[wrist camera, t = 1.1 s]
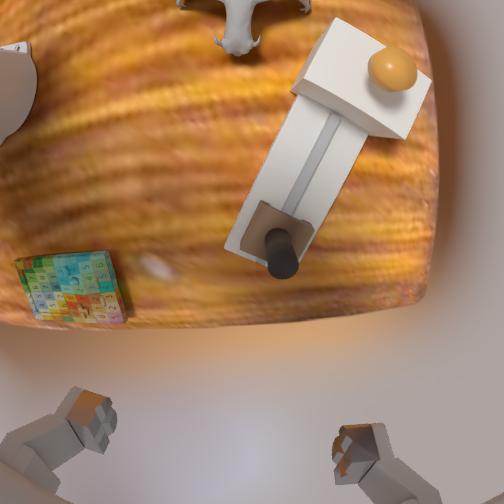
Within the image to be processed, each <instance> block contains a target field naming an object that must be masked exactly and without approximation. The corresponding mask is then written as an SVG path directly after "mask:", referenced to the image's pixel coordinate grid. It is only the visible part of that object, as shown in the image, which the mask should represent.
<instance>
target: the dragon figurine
mask: <svg viewBox="0 0 504 504" xmlns="http://www.w3.org/2000/svg"><path fill="white" fill-rule="evenodd" d="M181 1H182V0H177V2H176V4H177V7H179V9H181V8H182V7H181V6H183V7H186V5H183V4H182V3H181ZM218 1H221V2H222V3H224V5H225V8H226V16H227V18H226V28H225V33H224V38H223V39H221V41H218V40H217V39H216V33H215V37H214V40H215V43H216V44H217V45H219V46H221V47H222V48H223V49H224V50H225V52H226V53H229V54H232V53H233V55H234V56H241V55H242V54H247V53H249V51H250V49H252V48H253V47H256V46H258V44H259V42H260V36H259V39H258V40H257V41H256V42H254V40H253V36H252V34H251V17H252V14H253V10H254V7H255V5H256V4H258V3H260V2H264V1H268V0H218ZM299 1H300V2H301V3H302V4H303V5H305V7H304V8H303V9H300V10H299V11H304V10H305V13H307V11H309V9H310V8H311V7H310V5H309V0H299Z"/></svg>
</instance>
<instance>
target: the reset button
mask: <svg viewBox="0 0 504 504" xmlns="http://www.w3.org/2000/svg"><path fill="white" fill-rule="evenodd" d="M368 73H369V76H370V78H371V80H372V81H373V83H374V84H375V85H376V86H377V87H378V88H380V89H382V90H384V91H386V92H398V91H403V90H408V89H410V88H411V87H413V86H414V84H415V83H416V80H417V67H416V64H415V62H414V60H413V59H412V57H411V56H410V55H409V54H408V53H407V52H405V51H404V50H402V49H400V48H398V47H386V48H384V49H382V50H380V51H378V52H376V53H374V54H373V55H372V56H371V57H370V59H369V61H368Z"/></svg>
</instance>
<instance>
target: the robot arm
mask: <svg viewBox="0 0 504 504" xmlns="http://www.w3.org/2000/svg"><path fill="white" fill-rule="evenodd" d="M36 86H37V73H36V68H35V65H34V63H33V61H32V58H31V46H30V43H29V42H20V43H15V44H11V45H6V46H2V47H0V145H1V144H2V143H3V141H4V140H5V138H6V137H8V136H9V135H11V134H13V133H14V132H15V131H16V130H17V129H18V128H19V127H20V126H21V125H22V124H23V122H24V121H25V119H26V118H27V116H28V114H29V112H30V109H31V107H32V104H33V101H34V97H35V93H36ZM111 405H112V401H111V399H110V398H109V397H106V396H102V395H99V394H96V393H93V392H90V391H87V390H85V389H82V388H79V387H76V386H75V387H73V388H71V389H70V391H69V392H68V394H67V396H66V397H65V398H64V400H63V401H62V403H61V404H60V406H59V407H58V409H57V410H56V412H55V413H54V415H53V414H49V415H46V416H44V417H42V418H40V419H38V420H36V421H34V422H31V423H29V424H27V425H25V426H22V427H20V428H18V429H16V430H14V431H11V432H9V433H7V435H6V436H5V438H4V439H3V441H2V442H1V444H0V504H73V503H71V502H69V501H67V500H64V499H63V498H61V497H59V496H57V495H55V493H56V491H57V489H58V487H59V485H60V480H59V478H58V477H57V476H56V475H55V474H54V473H53V472H52V471H53V470H54V469H56V468H57V467H59V466H60V465H62V464H63V463H65V462H66V461H68V460H69V459H71V458H72V457H74V456H75V455H76V454H78V453H80V452H81V451H82V450H84V448H87V449H89V450H92V451H95V452H98V453H101V454H104V452H105V450H106V448H107V446H108V444H109V438H108V436H109V435H111V434H112V433H114V431H115V429H116V424H117V414H116V411H115V410H114V409H113V408H112V407H111ZM332 460H333V461H334V462H335V463H336V464H337V466H336V468H335V469H334V476H335V484H336V485H345V484H357V483H358V485H359V487H360V488H361V489H362V490H363V491H364V492H365V494H366V495H367V496H368V497H369V498H370V499H371V501H372V502H373V503H374V504H442V501H441V498H440V494H439V491H438V490H437V489H436V488H434V487H433V486H432V485H431V484H429V483H428V482H427V481H426V480H424V479H423V478H422V477H421V476H420V475H418V474H417V473H416V472H415V471H413V470H412V469H411V468H410V467H409V466H407V465H406V464H405V463H404V462H403V461H401V460H400V459H399V458H394V455H393V451H392V447H391V444H390V441H389V437H388V434H387V431H386V428H385V425H384V424H383V423H373V424H358V425H343V426H342V427H341V428H340V430H339V436H338V437H336V438H335V440H334V442H333V446H332ZM482 504H504V492H503V493H502V494H500V495H498V496H496V497H494V498H492V499H490V500H488V501H487V502H484V503H482Z"/></svg>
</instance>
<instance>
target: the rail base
mask: <svg viewBox="0 0 504 504" xmlns="http://www.w3.org/2000/svg"><path fill="white" fill-rule="evenodd" d="M384 48H386V46H384V45H383V44H381V43H379V42H378V41H376V40H375V39H373V38H372V37H370V36H368V35H367V34H365V33H363V32H362V31H360V30H358V29H357V28H355V27H353V26H351V25H350V24H348V23H346V22H344V21H342V20H340V19H339V18H337V17H335V19H334V20H333V21H332V22H331V24H330V25H329V26H328V27H327V29H326V30H325V31H324V32H323V33H322V35H321V36H320V37H319V39H318V40H317V41H316V42H315V44H314V46H313V48H312V50H311V52H310V53H309V55H308V57H307V59H306V61H305V63H304V65H303V67H302V69H301V70H300V72H299V74H298V76H297V78H296V80H295V82H294V84H293V86H292V88H291V90H290V92H292V93H294V94H296V95H297V96H296V98H295V99H294V101H293V103H292V105H291V107H290V109H289V111H288V113H287V115H286V117H285V119H284V121H283V123H282V125H281V127H280V129H279V131H278V133H277V135H276V137H275V139H274V141H273V143H272V145H271V147H270V149H269V152H268V154H267V156H266V158H265V160H264V162H263V164H262V166H261V168H260V170H259V172H258V174H257V176H256V178H255V180H254V182H253V185H252V187H251V189H250V191H249V193H248V195H247V197H246V199H245V201H244V203H243V206H242V208H241V210H240V212H239V214H238V216H237V218H236V220H235V223H234V225H233V227H232V229H231V231H230V233H229V235H228V238H227V240H226V242H225V245H224V249H225V250H228V251H230V252H233V253H235V254H237V255H240V256H242V257H244V258H247V259H249V260H252V261H254V262H256V263H259V264H261V265H263V266H266V267H268V264H267V261H265V260H263V259H260V258H258V257H255V256H253V255H251V254H248V253H246V252H244V251H241V250H240V241H241V239H242V237H243V235H244V233H245V231H246V229H247V227H248V225H249V223H250V220H251V218H252V216H253V214H254V212H255V210H256V208H257V206H258V204H259V202H260V200H263V201H265V202H267V203H269V204H270V206H271V207H273V208H275V209H278V210H280V211H282V212H284V213H286V214H288V215H290V216H293V217H295V218H297V219H299V220H301V221H302V219H303V220H305V221H307V222H309V223H311V225H312V226H313V228H314V229H315V231H314V233H313V235H312V236H311V238H310V240H309V242H308V244H307V245H306V247H305V249H304V251H303V252H302V254H301V256H300V258H299V260H298V262H299V263H300V261H301V260H302V258H303V256H304V254H305V253H306V251H307V249H308V247H309V245H310V244H311V242H312V240H313V238H314V237H315V235H316V233H317V231H318V229H319V228H320V226H321V224H322V222H323V220H324V218H325V217H326V215H327V213H328V211H329V209H330V207H331V206H332V204H333V202H334V200H335V198H336V196H337V194H338V193H339V191H340V189H341V187H342V185H343V183H344V181H345V179H346V177H347V176H348V174H349V172H350V170H351V168H352V166H353V164H354V162H355V160H356V158H357V156H358V154H359V152H360V150H361V148H362V146H363V144H364V142H365V140H366V138H367V136H368V135H369V136H377V137H386V138H395V139H403V140H406V137H407V135H408V133H409V131H410V129H411V127H412V125H413V122H414V120H415V118H416V116H417V115H418V111H419V109H420V107H421V105H422V102H423V100H424V98H425V95H426V93H427V91H428V88H429V86H430V84H431V80H430V79H429V78H428V77H426V76H425V75H424V74H423V73H421V72H420V71H419V70H418V69H417V80H416V83H415V84H414V86H413V87H411V88H410V89H408V90H403V91H398V92H386V91H384V90H382V89H380V88H378V87H377V86H376V85H375V84H374V83H373V81H372V80H371V78H370V76H369V73H368V61H369V59H370V57H371V56H372V55H373V54H374V53H376V52H378V51H380V50H382V49H384Z"/></svg>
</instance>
